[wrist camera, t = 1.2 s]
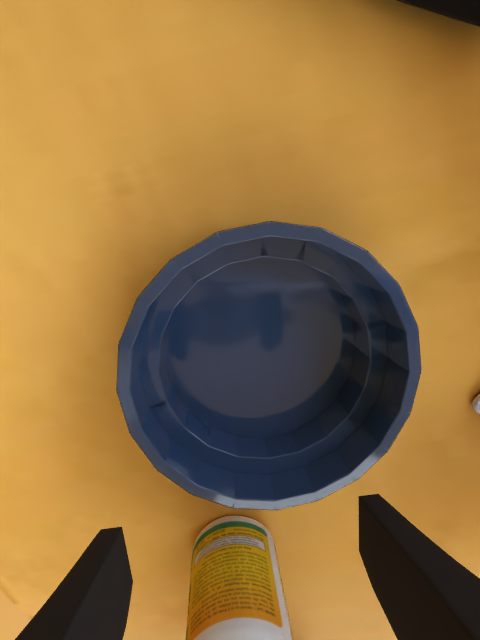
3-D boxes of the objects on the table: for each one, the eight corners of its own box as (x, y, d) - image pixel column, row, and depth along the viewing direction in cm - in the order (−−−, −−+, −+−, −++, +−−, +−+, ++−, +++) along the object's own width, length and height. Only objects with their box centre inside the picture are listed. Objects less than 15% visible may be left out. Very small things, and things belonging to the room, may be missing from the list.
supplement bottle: (287, 554, 24) (336, 762, 14) (219, 591, 24) (222, 817, 15) (248, 497, 22) (272, 683, 13) (176, 536, 23) (150, 746, 13)
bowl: (423, 339, 21) (479, 367, 16) (264, 493, 22) (276, 556, 18) (255, 168, 18) (268, 146, 13) (87, 359, 20) (51, 395, 15)
